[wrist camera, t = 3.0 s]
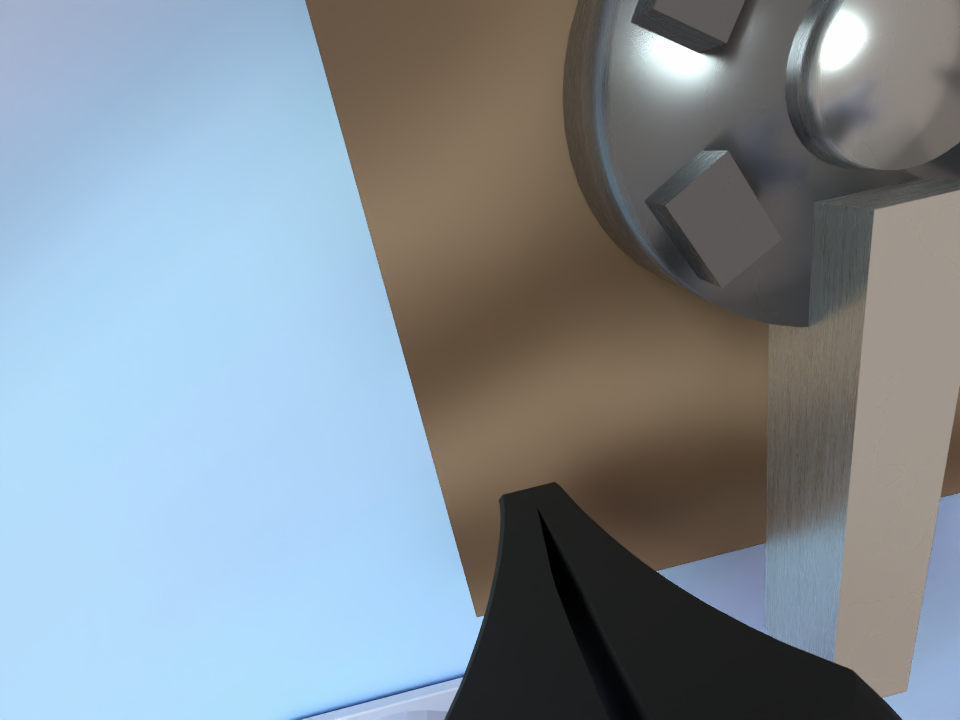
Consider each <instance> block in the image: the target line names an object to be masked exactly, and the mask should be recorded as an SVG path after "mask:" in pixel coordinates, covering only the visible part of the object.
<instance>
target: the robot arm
mask: <svg viewBox="0 0 960 720" xmlns="http://www.w3.org/2000/svg"><path fill="white" fill-rule="evenodd" d="M499 505H500V537H499V545H498V553H497V561H496V567H495V572H494V577H493V581H492V586H491V591H490V596H489V600H488V604H487V608H486V611H485V615H484V619H483V622H482V625H481V628H480V632H479V635H478V638H477V641H476V644H475V647H474V649H473V652H472V655H471V658H470V661H469V663H468V666H467V669H466V671H465V674H464V676H463V677H461V678H457V679H454V680H450V681H446V682H442V683H438V684H435V685H431V686H427V687H423V688H419V689H416V690H412V691H408V692H404V693H400V694H397V695H393V696H389V697H385V698H381V699H378V700H374V701H370V702H366V703H362V704H359V705H355V706H351V707H347V708H343V709H339V710H336V711H332V712H328V713H324V714H320V715H317V716H313V717H309V718H305V719H301V720H902V719H901V718H900V717H899V715H898V714H897V713H896V712H895V711H894V710H893V709H892V708H891V707H890V706H889V705H888V704H887V703H886V702H885V701H884V700H883V699H882V698H881V697H880V696H879V695H878V694H877V693H876V692H875V691H874V690H873V689H872V688H871V687H870V686H869V685H868V684H867V683H866V682H865V681H864V680H863V679H862V678H861V677H859V676H858V675H857V674H856V673H855V672H854V671H853V670H852V669H849V668H847V667H844V666H841V665H839V664H836V663H834V662H831V661H829V660H826V659H824V658H821V657H819V656H816V655H814V654H811V653H809V652H806V651H803V650H801V649H798V648H796V647H793V646H791V645H788V644H786V643H784V642H782V641H779V640H777V639H775V638H773V637H771V636H769V635H766V634H764V633H762V632H760V631H758V630H756V629H754V628H751V627H749V626H747V625H745V624H744V623H742V622H740V621H738V620H736V619H734V618H732V617H730V616H729V615H727V614H725V613H723V612H721V611H719V610H717V609H716V608H714V607H712V606H710V605H708V604H706V603H705V602H703V601H701V600H700V599H698V598H696V597H695V596H693V595H691V594H690V593H688V592H686V591H685V590H683V589H682V588H680V587H678V586H677V585H675V584H674V583H672V582H671V581H669V580H668V579H666V578H665V577H663V576H662V575H660V574H659V573H658V572H656V571H655V570H653V569H652V568H651V567H649V566H648V565H647V564H645V563H644V562H642V561H641V560H640V559H639V558H637V557H636V556H635V555H633V554H632V553H631V552H630V551H628V550H627V549H626V548H625V547H623V546H622V545H621V544H620V543H619V542H617V541H616V540H615V539H614V538H613V537H611V536H610V535H609V534H608V533H607V532H606V531H605V530H604V529H602V528H601V527H600V526H599V525H598V524H597V523H596V522H595V521H594V520H593V519H591V518H590V517H589V516H588V515H587V514H586V513H585V512H584V511H583V510H582V509H581V508H580V507H579V506H578V505H577V504H576V503H575V502H574V501H573V500H572V498H571V497H570V496H569V495H568V494H567V493H566V492H565V491H564V489H563V488H562V487H561V486H560V485H559V484H557V483H556V482H552V483H548V484H544V485H540V486H536V487H532V488H528V489H524V490H520V491H516V492H512V493H508V494H504V495H502V496H501V498H500V499H499Z"/></svg>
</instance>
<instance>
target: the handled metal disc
mask: <svg viewBox="0 0 960 720" xmlns="http://www.w3.org/2000/svg"><path fill="white" fill-rule="evenodd" d="M562 99H563V114H564V129H565V135H566V140H567V145H568V151H569V156H570V160H571V163H572V166H573V169H574V173H575V176H576V179H577V182H578V185H579V187H580V189H581V191H582V194H583V196H584V198H585V200H586V202H587V204H588V206H589V208H590V210H591V212H592V213H593V215H594V216H595V218H596V219H597V221H598V222H599V224H600V225H601V227H602V229H603V230H604V231H605V232H606V234H607V235H608V236H609V237H610V238H611V239H612V240H613V242H614V243H615V244H616V245H617V246H618V247H619V248H620V249H621V250H622V251H623V252H624V253H626V254H627V255H628V256H629V257H630V258H631V259H633V260H634V261H635V262H636V263H637V264H639V265H641V266H642V267H644V268H645V269H647V270H649V271H650V272H652V273H654V274H655V275H657V276H659V277H661V278H663V279H665V280H667V281H669V282H671V283H673V284H675V285H677V286H679V287H681V288H683V289H685V290H687V291H689V292H691V293H693V294H695V295H697V296H699V297H701V298H703V299H705V300H707V301H709V302H711V303H713V304H715V305H717V306H719V307H721V308H724V309H726V310H728V311H731V312H733V313H736V314H738V315H740V316H743V317H745V318H748V319H752V320H756V321H760V322H764V323H768V324H769V363H768V428H767V493H766V558H765V623H764V626H765V628H766V629H767V630H768V632H769V633H770V634H771V636H772V637H773V638H775V639H777V640H779V641H782V642H784V643H786V644H788V645H791V646H793V647H796V648H798V649H801V650H803V651H806V652H809V653H811V654H814V655H816V656H819V657H821V658H824V659H826V660H829V661H831V662H834V663H836V664H839V665H841V666H844V667H847V668H849V669H852V670H853V671H854V672H855V673H856V674H857V675H858V676H859V677H861V678H862V679H863V680H864V681H865V682H866V683H867V684H868V685H869V686H870V687H871V688H872V689H873V690H874V691H875V692H876V693H877V694H878V695H879V696H880V697H881V698H883V697H887V696H890V695H894V694H898V693H901V692H905V691H907V687H908V681H909V675H910V669H911V663H912V658H913V652H914V646H915V640H916V635H917V629H918V623H919V617H920V611H921V606H922V600H923V594H924V588H925V583H926V577H927V571H928V565H929V560H930V554H931V548H932V542H933V536H934V531H935V525H936V519H937V513H938V508H939V502H940V496H941V490H942V485H943V479H944V473H945V467H946V461H947V456H948V450H949V444H950V438H951V433H952V427H953V421H954V415H955V410H956V404H957V398H958V392H959V386H960V0H578V3H577V7H576V10H575V14H574V17H573V21H572V25H571V28H570V32H569V38H568V44H567V50H566V57H565V63H564V77H563V97H562Z"/></svg>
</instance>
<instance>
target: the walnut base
mask: <svg viewBox="0 0 960 720" xmlns="http://www.w3.org/2000/svg"><path fill="white" fill-rule="evenodd" d="M305 1H306V5H307V8H308V12H309V16H310V19H311V23H312V26H313V30H314V34H315V37H316V41H317V44H318V48H319V52H320V55H321V59H322V62H323V66H324V70H325V73H326V77H327V80H328V84H329V88H330V91H331V95H332V98H333V102H334V106H335V109H336V113H337V116H338V120H339V123H340V127H341V131H342V134H343V138H344V141H345V145H346V149H347V152H348V156H349V159H350V163H351V167H352V170H353V174H354V177H355V181H356V185H357V188H358V192H359V195H360V199H361V203H362V206H363V210H364V213H365V217H366V221H367V224H368V228H369V231H370V235H371V239H372V242H373V246H374V249H375V253H376V257H377V260H378V264H379V267H380V271H381V275H382V278H383V282H384V285H385V289H386V293H387V296H388V300H389V303H390V307H391V311H392V314H393V318H394V321H395V325H396V329H397V332H398V336H399V339H400V343H401V346H402V350H403V354H404V357H405V361H406V364H407V368H408V372H409V375H410V379H411V382H412V386H413V390H414V393H415V397H416V400H417V404H418V408H419V411H420V415H421V418H422V422H423V426H424V429H425V433H426V436H427V440H428V444H429V447H430V451H431V454H432V458H433V462H434V465H435V469H436V472H437V476H438V480H439V483H440V487H441V490H442V494H443V498H444V501H445V505H446V508H447V512H448V516H449V519H450V523H451V526H452V530H453V534H454V537H455V541H456V544H457V548H458V552H459V555H460V559H461V562H462V566H463V569H464V573H465V577H466V580H467V584H468V587H469V591H470V595H471V598H472V602H473V605H474V609H475V613H476V616H477V617H480V616H484V615H485V611H486V608H487V604H488V600H489V596H490V591H491V586H492V581H493V577H494V572H495V567H496V561H497V553H498V545H499V537H500V505H499V499H500V498H501V496H502V495H504V494H508V493H512V492H516V491H520V490H524V489H528V488H532V487H536V486H540V485H544V484H548V483H552V482H556V483H557V484H559V485H560V486H561V487H562V488H563V489H564V491H565V492H566V493H567V494H568V495H569V496H570V497H571V498H572V500H573V501H574V502H575V503H576V504H577V505H578V506H579V507H580V508H581V509H582V510H583V511H584V512H585V513H586V514H587V515H588V516H589V517H590V518H591V519H593V520H594V521H595V522H596V523H597V524H598V525H599V526H600V527H601V528H602V529H604V530H605V531H606V532H607V533H608V534H609V535H610V536H611V537H613V538H614V539H615V540H616V541H617V542H619V543H620V544H621V545H622V546H623V547H625V548H626V549H627V550H628V551H630V552H631V553H632V554H633V555H635V556H636V557H637V558H639V559H640V560H641V561H642V562H644V563H645V564H647V565H648V566H649V567H651V568H652V569H653V570H655V571H658V570H662V569H666V568H670V567H674V566H678V565H681V564H685V563H689V562H693V561H697V560H701V559H705V558H709V557H713V556H716V555H720V554H724V553H728V552H732V551H736V550H740V549H744V548H747V547H751V546H755V545H759V544H763V543H766V493H767V428H768V363H769V324H768V323H764V322H760V321H756V320H752V319H748V318H745V317H743V316H740V315H738V314H736V313H733V312H731V311H728V310H726V309H724V308H721V307H719V306H717V305H715V304H713V303H711V302H709V301H707V300H705V299H703V298H701V297H699V296H697V295H695V294H693V293H691V292H689V291H687V290H685V289H683V288H681V287H679V286H677V285H675V284H673V283H671V282H669V281H667V280H665V279H663V278H661V277H659V276H657V275H655V274H654V273H652V272H650V271H649V270H647V269H645V268H644V267H642V266H641V265H639V264H637V263H636V262H635V261H634V260H633V259H631V258H630V257H629V256H628V255H627V254H626V253H624V252H623V251H622V250H621V249H620V248H619V247H618V246H617V245H616V244H615V243H614V242H613V240H612V239H611V238H610V237H609V236H608V235H607V234H606V232H605V231H604V230H603V229H602V227H601V225H600V224H599V222H598V221H597V219H596V218H595V216H594V215H593V213H592V212H591V210H590V208H589V206H588V204H587V202H586V200H585V198H584V196H583V194H582V191H581V189H580V187H579V185H578V182H577V179H576V176H575V173H574V169H573V166H572V163H571V160H570V156H569V151H568V145H567V140H566V135H565V129H564V114H563V99H562V97H563V77H564V63H565V57H566V50H567V44H568V38H569V32H570V28H571V25H572V21H573V17H574V14H575V10H576V7H577V3H578V0H305ZM957 493H960V386H959V392H958V398H957V404H956V410H955V415H954V421H953V427H952V433H951V438H950V444H949V450H948V456H947V461H946V467H945V473H944V479H943V485H942V490H941V496H940V498H941V497H945V496H949V495H953V494H957Z"/></svg>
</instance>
